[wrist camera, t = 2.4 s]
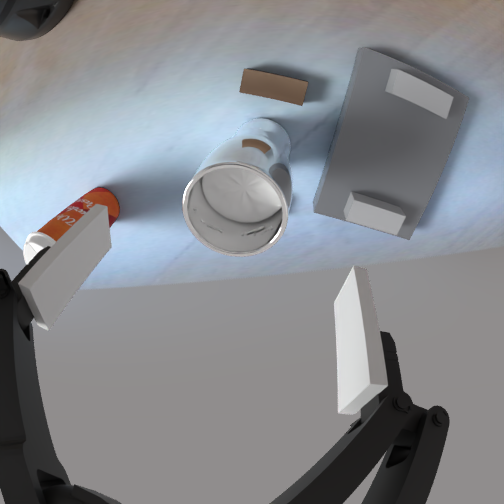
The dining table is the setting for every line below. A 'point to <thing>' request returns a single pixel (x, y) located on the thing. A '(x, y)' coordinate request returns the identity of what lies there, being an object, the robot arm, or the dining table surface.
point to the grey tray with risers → (388, 145)
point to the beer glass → (242, 191)
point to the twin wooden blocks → (273, 86)
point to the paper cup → (69, 220)
